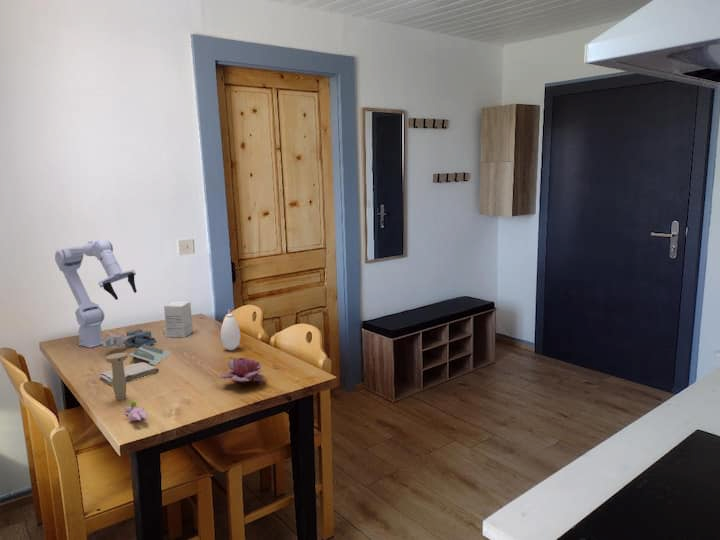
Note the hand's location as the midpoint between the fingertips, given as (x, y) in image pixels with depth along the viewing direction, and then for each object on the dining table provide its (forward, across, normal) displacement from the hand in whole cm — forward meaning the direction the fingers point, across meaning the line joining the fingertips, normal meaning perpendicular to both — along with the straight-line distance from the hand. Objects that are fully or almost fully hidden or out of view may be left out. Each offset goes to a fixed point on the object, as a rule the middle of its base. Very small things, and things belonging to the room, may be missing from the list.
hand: (126, 295), depth 219 cm
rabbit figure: (+52, -23, -42) cm, 71 cm away
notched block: (+13, -9, +18) cm, 24 cm away
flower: (+58, +14, -34) cm, 69 cm away
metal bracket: (+28, -2, +5) cm, 28 cm away
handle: (+42, -22, -26) cm, 54 cm away
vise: (+16, -4, +20) cm, 26 cm away
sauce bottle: (+40, +27, -1) cm, 48 cm away
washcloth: (+33, -14, -8) cm, 37 cm away
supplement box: (+18, +19, +28) cm, 38 cm away
